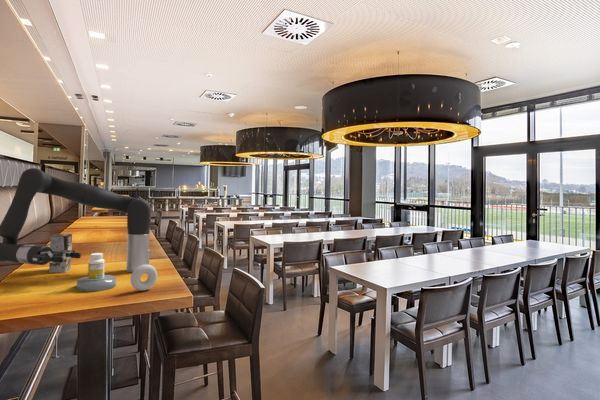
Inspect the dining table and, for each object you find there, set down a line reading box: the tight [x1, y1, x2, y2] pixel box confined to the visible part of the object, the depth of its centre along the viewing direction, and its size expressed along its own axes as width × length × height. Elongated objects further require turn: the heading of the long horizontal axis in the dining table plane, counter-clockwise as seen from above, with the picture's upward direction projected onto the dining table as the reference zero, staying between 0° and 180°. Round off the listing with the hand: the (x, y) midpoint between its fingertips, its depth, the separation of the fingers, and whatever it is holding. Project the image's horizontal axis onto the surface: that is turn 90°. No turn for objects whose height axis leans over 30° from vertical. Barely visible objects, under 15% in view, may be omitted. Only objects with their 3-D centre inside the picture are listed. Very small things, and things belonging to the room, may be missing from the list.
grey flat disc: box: [76, 274, 117, 293], centre depth 132 cm, size 13×13×3 cm
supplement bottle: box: [87, 252, 106, 281], centre depth 132 cm, size 5×5×10 cm
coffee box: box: [48, 233, 73, 274], centre depth 153 cm, size 9×6×16 cm
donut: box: [129, 264, 158, 292], centre depth 130 cm, size 10×3×10 cm, turn 139°
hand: (71, 257), depth 133 cm, fingers open, 8 cm apart
